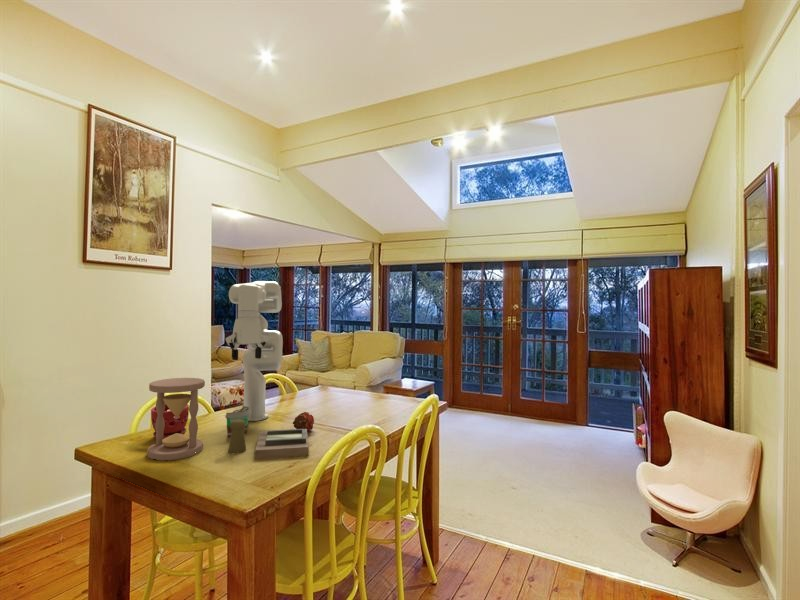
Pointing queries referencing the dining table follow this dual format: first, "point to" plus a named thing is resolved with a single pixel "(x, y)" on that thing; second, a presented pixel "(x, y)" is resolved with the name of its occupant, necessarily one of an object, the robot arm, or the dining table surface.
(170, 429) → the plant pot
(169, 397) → the hourglass
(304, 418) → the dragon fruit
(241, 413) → the food container
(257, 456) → the dock
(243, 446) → the brown rounded bulbous piece
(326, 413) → the dining table surface
